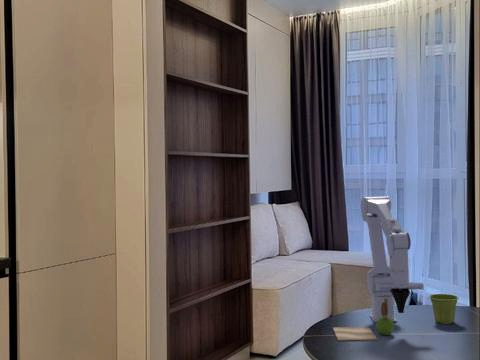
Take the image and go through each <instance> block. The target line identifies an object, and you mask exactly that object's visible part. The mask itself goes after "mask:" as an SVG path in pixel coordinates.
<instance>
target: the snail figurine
mask: <svg viewBox="0 0 480 360" xmlns="http://www.w3.org/2000/svg"><path fill="white" fill-rule="evenodd" d="M384 296H388V295H384ZM381 314H382V318H380V319H379V320H378V321H377V322H376V324H375V325H376V330H377V331H378V333H380V334H381V335H384V336H387V335H390V334H392V333H393V331H394V329H395V324H394V322H392V320H391V319H389V318H387V315H388V300H387V299H386V298H385V299H384V302H383V303H382V305H381Z"/></svg>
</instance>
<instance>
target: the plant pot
mask: <svg viewBox="0 0 480 360" xmlns="http://www.w3.org/2000/svg"><path fill="white" fill-rule="evenodd" d="M429 299H430V302H431V303H432V311H433V314H434V315H433V316H434V322H436V323H440V324H444V325H449V324H453V323H455V317H456V308H457V303H458V300H459V296H457V295H455V294H450V293H449V294H447V293H434V294H431V295H429Z"/></svg>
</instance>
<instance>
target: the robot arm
mask: <svg viewBox="0 0 480 360" xmlns="http://www.w3.org/2000/svg"><path fill="white" fill-rule="evenodd" d="M391 209H392V201H391V198H390V196H388V195H386V196H385V195H384V196H363V197H362V198H361V200H360V212H361V218H362V220H363V222H365V223H366V224H367V229H368V236H369V242H370V251H371V257H372V265H373V267H371V269H370V270H368V271H367V274H366V288H367V291H368V292H369V294H371V313H370V314H369V317H370V319H372V321H373V322H375V323H377V321H378V320H379V319H380V318H382V314H381V305H382V303H383V302H384V299H385V298H386V299H387V300H388V315H387V318H389V319H391V320H392V322H393V323H395V322H398V319H396V317H395V311H394V310H395V309H394V301H395V305H396V310H397V312H398V314H404V313H405V306H406V303H407V302H408V298H409V297H410V293H411V291H410V290H419V291H422V290H423V291H424V283H423V282H410V276H409V274H410V273H409V250H410V249H411V245H412V243H411V242H412V241H411V237H410V234H409V232H408V231H405V230H403V229H402V227H401V225H400V224H399V221H398V219H396V218H394V217H392V214H391ZM384 236H385V238H386V241H384ZM385 244H386V247H387V255H386V250H385V249H386V248H385ZM387 256H389V266H388V263H387ZM384 295H388V296H384Z"/></svg>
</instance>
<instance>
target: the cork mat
mask: <svg viewBox="0 0 480 360" xmlns="http://www.w3.org/2000/svg"><path fill="white" fill-rule="evenodd" d="M332 330H333V332H334V335H335V337H336V340H337V342H338V341H339V342H357V341H358V342H360V341H361V342H363V341H365V342H368V341H369V342H373V341H375V342H376V341H378V338H377V337H376V335H375V334H374V332H373V331H372V329H371V328H370V326H346V327H345V326H344V327H343V326H340V327H339V326H337V327H336V326H333V327H332Z"/></svg>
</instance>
